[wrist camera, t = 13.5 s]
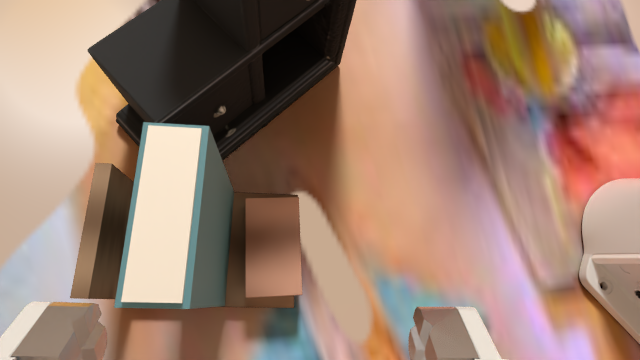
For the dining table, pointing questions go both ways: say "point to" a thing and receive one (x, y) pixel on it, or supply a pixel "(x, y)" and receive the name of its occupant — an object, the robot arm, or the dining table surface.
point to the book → (177, 222)
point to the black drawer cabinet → (221, 62)
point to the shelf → (244, 255)
